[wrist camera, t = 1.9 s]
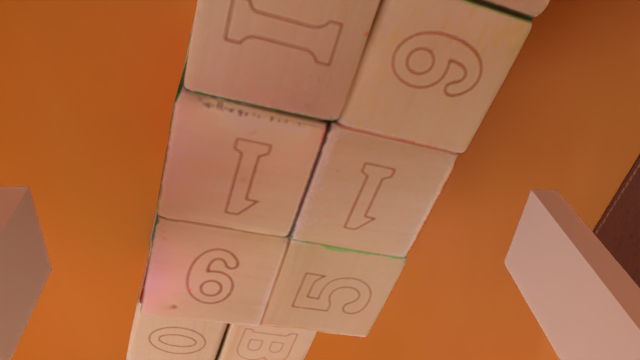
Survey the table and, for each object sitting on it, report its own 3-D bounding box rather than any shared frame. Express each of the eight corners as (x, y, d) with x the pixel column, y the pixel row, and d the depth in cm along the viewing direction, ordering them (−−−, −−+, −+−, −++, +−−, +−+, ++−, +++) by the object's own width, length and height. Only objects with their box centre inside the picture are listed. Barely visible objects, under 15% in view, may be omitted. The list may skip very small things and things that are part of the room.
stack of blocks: (264, 269, 29) (276, 507, 19) (147, 251, 27) (92, 503, 17) (426, -171, 18) (656, -166, 8) (251, -248, 16) (266, -364, 6)
